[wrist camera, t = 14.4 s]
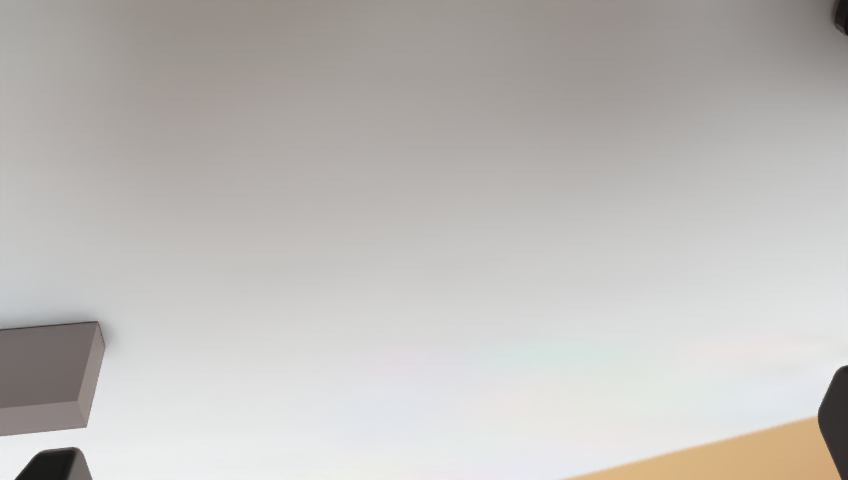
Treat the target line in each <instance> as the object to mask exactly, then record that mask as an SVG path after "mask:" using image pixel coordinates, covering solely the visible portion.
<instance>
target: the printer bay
mask: <svg viewBox="0 0 848 480" xmlns="http://www.w3.org/2000/svg"><path fill="white" fill-rule="evenodd" d="M104 351H105V345H104V342H103V338H102V335H101V332H100V328H99V325H98V322H93V323H81V324H69V325H57V326H46V327H34V328H22V329H10V330H0V436H8V435H18V434H27V433H37V432H47V431H57V430H66V429H76V428H86V427H87V423H88V419H89V415H90V411H91V406H92V402H93V398H94V394H95V389H96V385H97V381H98V377H99V372H100V368H101V364H102V360H103V355H104Z"/></svg>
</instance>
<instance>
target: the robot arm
mask: <svg viewBox="0 0 848 480" xmlns="http://www.w3.org/2000/svg"><path fill="white" fill-rule="evenodd" d="M835 25H836V28H837V29H838V30H839V31H840V32H841V33H843V34H845V35H846V36H848V0H841V1H840V4H839V7H838V10H837V13H836V17H835ZM818 423H819V428H820V431H821V433H822V436H823V438H824V440H825V443H826V445H827V447H828V450H829V452H830V454H831V456H832V459H833V461H834V463H835V466H836V468H837V470H838V473H839V475H840V477H841V480H848V365H846V366H842V367H841V368H839V369H838V370H837V371H836V373H835V374H834V376H833V379H832V381H831V383H830V385H829V388H828V390H827V392H826V394H825V396H824V399H823V401H822V403H821V405H820V407H819V410H818ZM15 480H92V477H91V474H90V471H89V468H88V466H87V463H86V460H85V457H84V455H83V453H82V451H81V450H80V449H79V448H76V447H68V448H59V449H49V450H44V451H41V452H39V453H38V454H36V455H35V456H34V457H33V458H32V459H31V461H30V462H29V463H28V464H27V465H26V467H25V468H24V469H23V470H22V471H21V473H20V474H19V475H18V476H17V477H16V479H15Z"/></svg>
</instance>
